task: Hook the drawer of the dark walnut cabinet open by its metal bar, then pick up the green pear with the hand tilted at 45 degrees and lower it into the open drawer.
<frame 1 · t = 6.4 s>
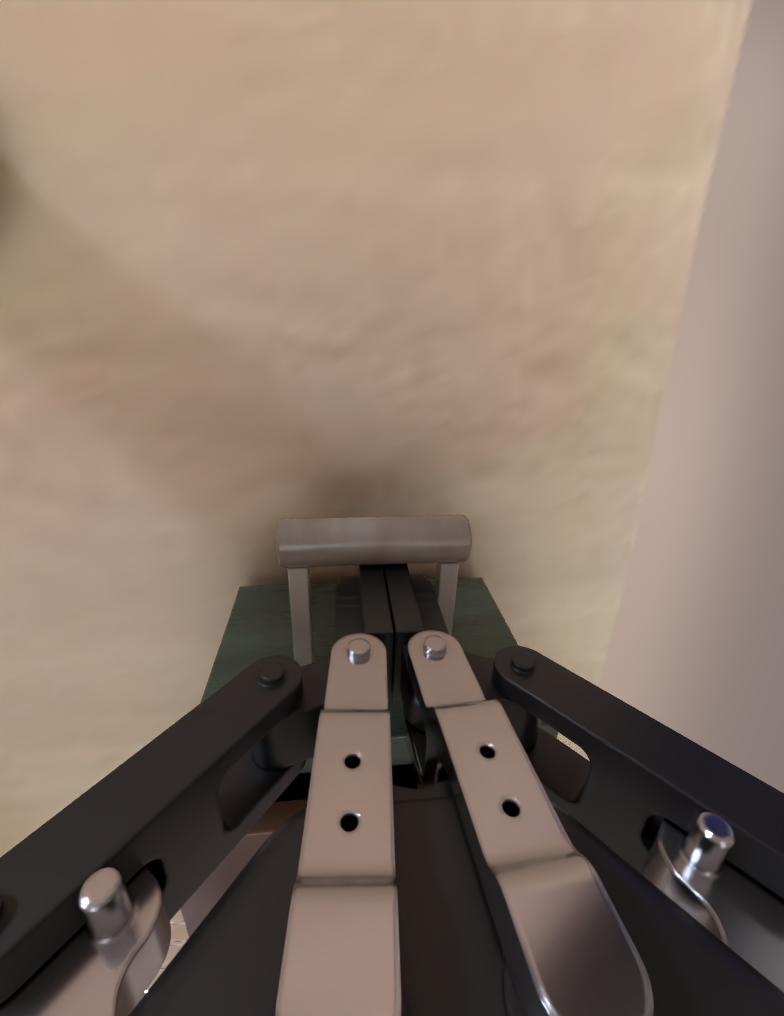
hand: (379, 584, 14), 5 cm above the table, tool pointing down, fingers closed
drawer: (369, 734, 18), point 5 cm above the table, slide at 0.9 cm, touching gripper
cabinet: (362, 728, 25), on the table
water bottle: (200, 890, 29), on the table
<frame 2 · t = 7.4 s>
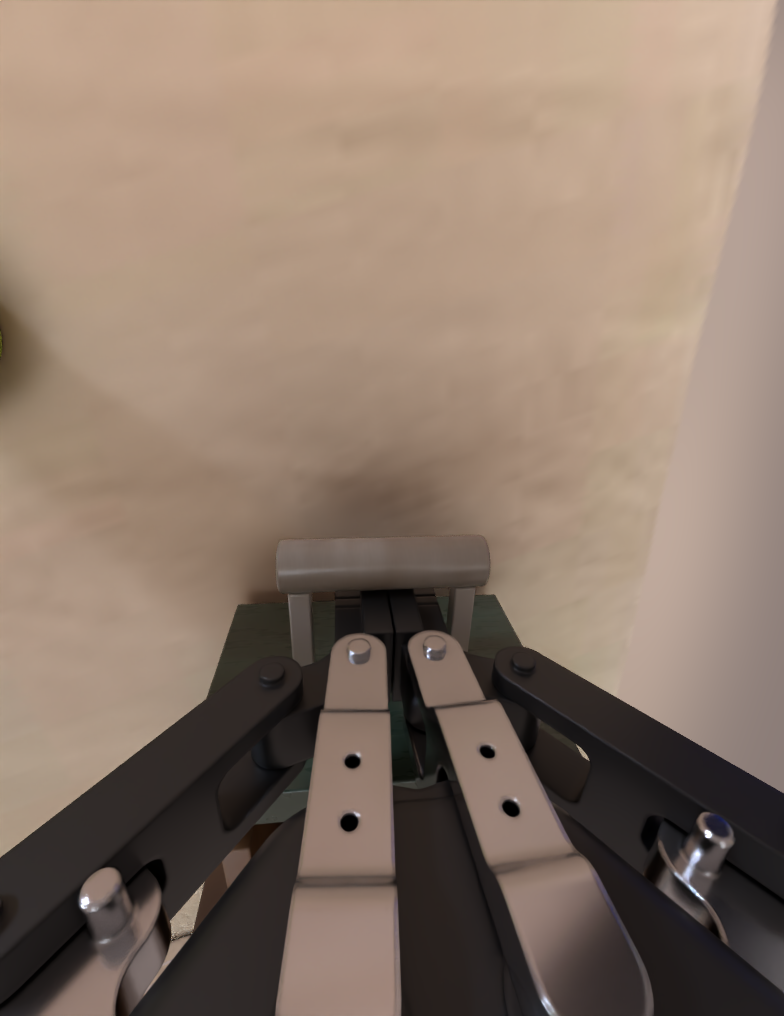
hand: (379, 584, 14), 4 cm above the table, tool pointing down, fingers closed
drawer: (375, 764, 17), point 5 cm above the table, slide at 5.6 cm, touching gripper
cabinet: (366, 807, 25), on the table
water bottle: (208, 952, 30), on the table
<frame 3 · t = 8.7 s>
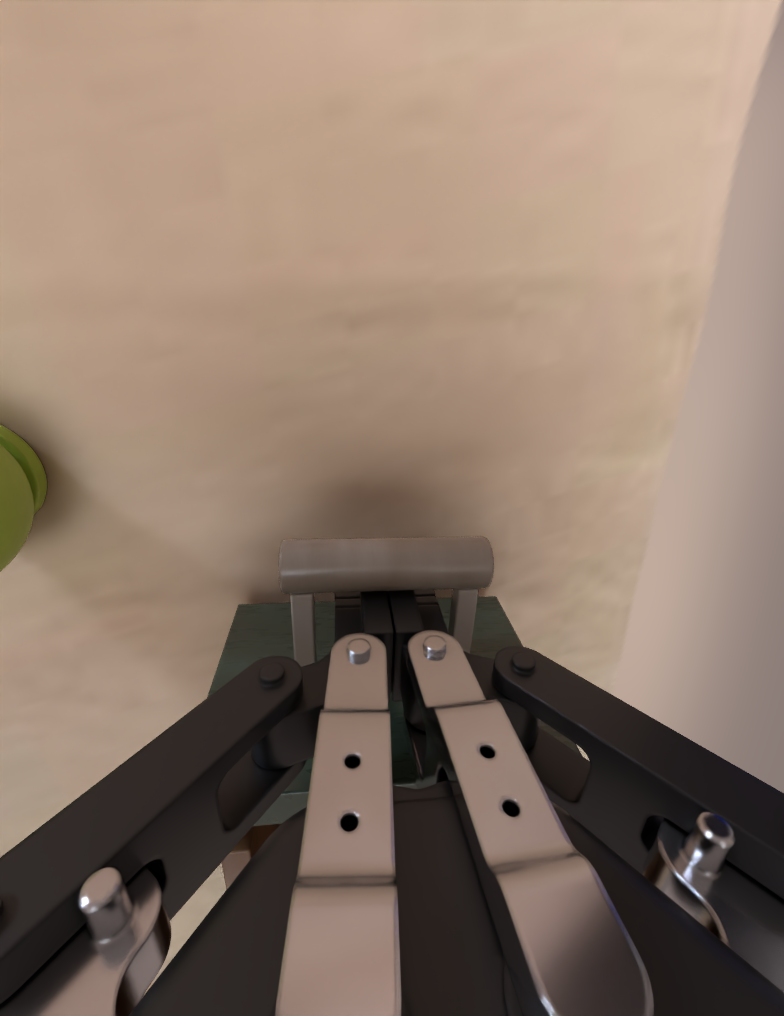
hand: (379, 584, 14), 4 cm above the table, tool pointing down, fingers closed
drawer: (375, 766, 17), point 5 cm above the table, slide at 10.4 cm, touching gripper
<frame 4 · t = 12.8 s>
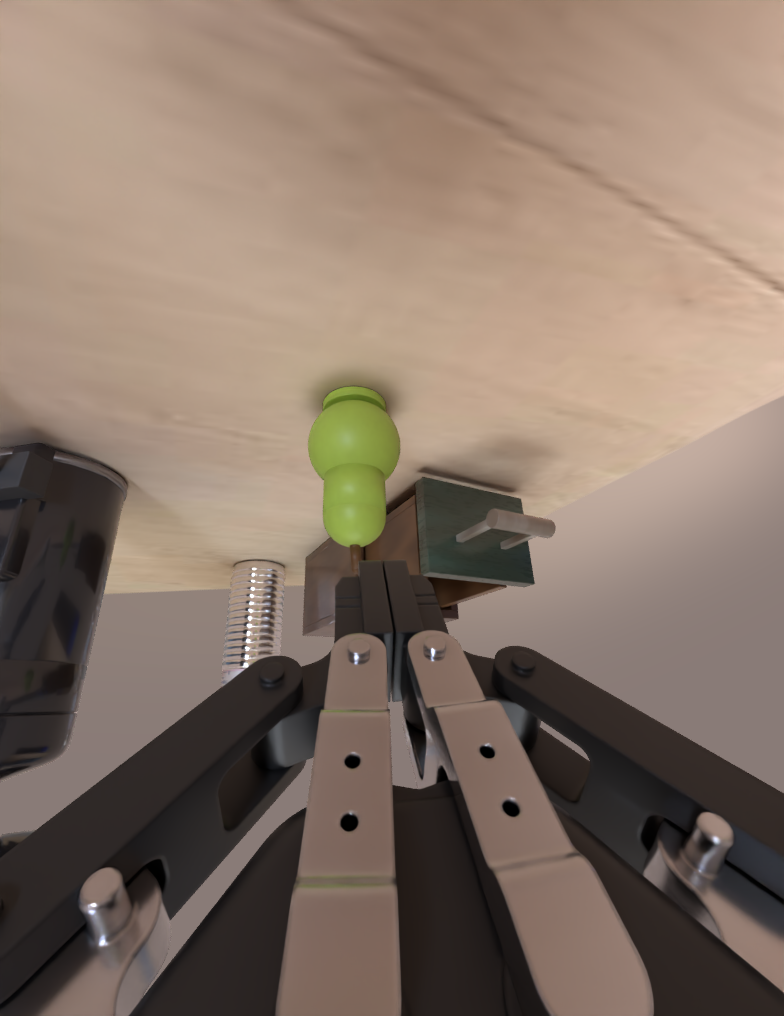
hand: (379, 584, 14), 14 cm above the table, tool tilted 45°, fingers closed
drawer: (447, 548, 41), point 5 cm above the table, slide at 10.5 cm
pear: (354, 406, 29), on the table
cabinet: (373, 545, 55), on the table
water bottle: (259, 564, 61), on the table
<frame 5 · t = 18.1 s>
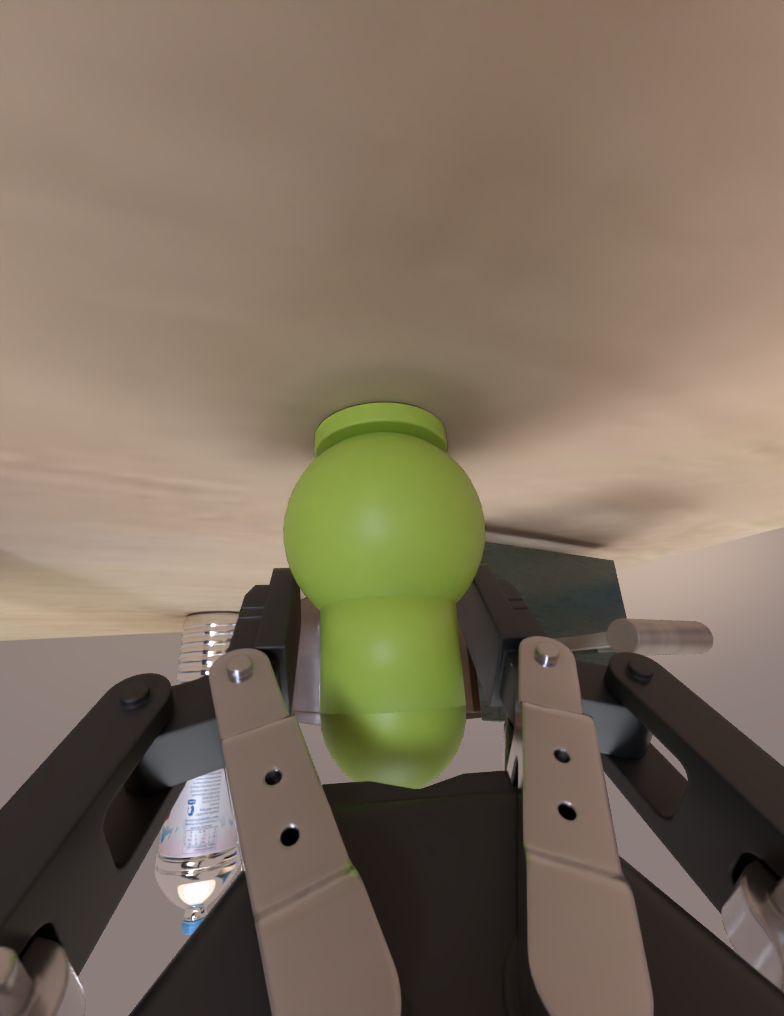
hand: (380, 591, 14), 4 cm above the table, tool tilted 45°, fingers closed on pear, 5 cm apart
drawer: (502, 636, 27), point 5 cm above the table, slide at 10.5 cm
pear: (380, 438, 14), on the table, touching gripper
cabinet: (375, 597, 40), on the table
water bottle: (221, 614, 46), on the table
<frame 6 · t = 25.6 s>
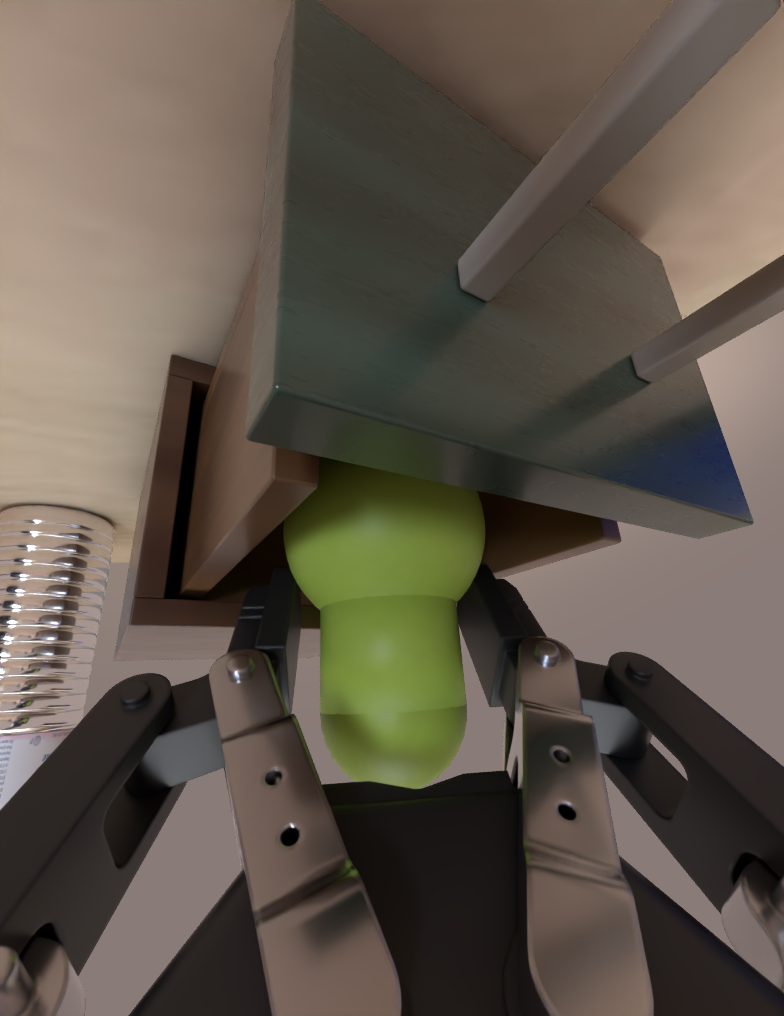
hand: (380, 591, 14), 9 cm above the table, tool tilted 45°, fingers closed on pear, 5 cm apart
drawer: (419, 413, 12), point 5 cm above the table, slide at 10.4 cm
pear: (380, 438, 14), point 5 cm above the table, touching gripper
cabinet: (266, 469, 26), on the table
water bottle: (61, 517, 31), on the table
when the fingers open (10 cm above the table, at t = 33.9 s): pear drops 3 cm, resting on drawer.
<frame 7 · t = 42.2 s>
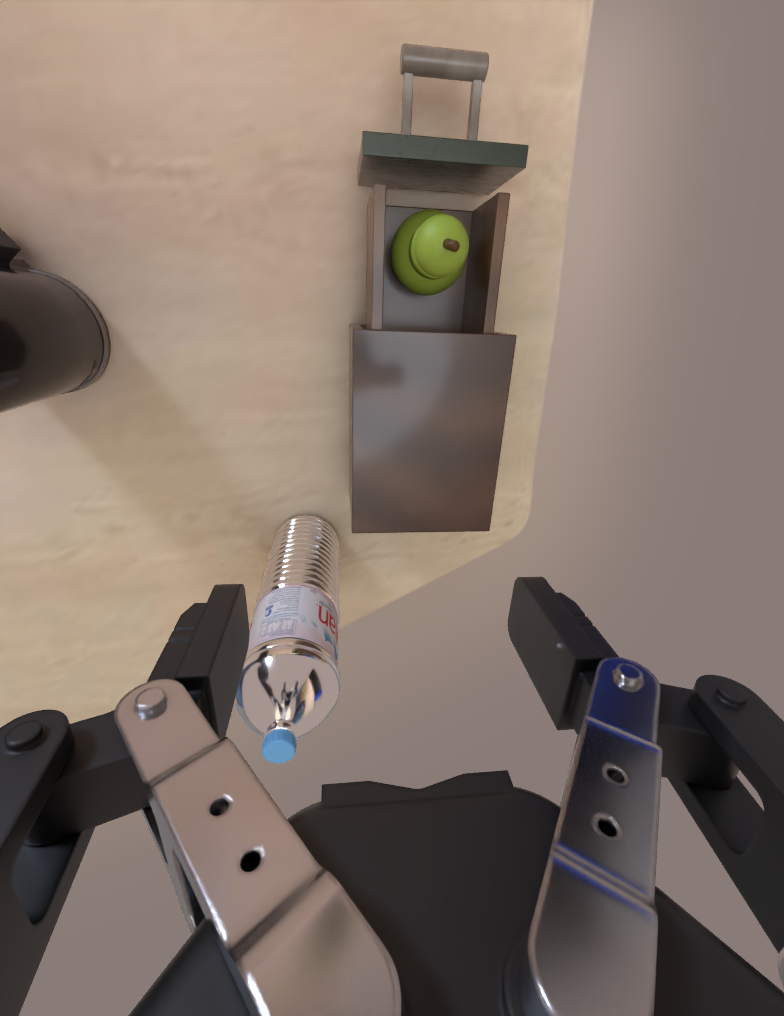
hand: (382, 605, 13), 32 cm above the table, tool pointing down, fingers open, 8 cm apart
drawer: (430, 233, 34), point 5 cm above the table, slide at 10.0 cm, touching pear
pear: (421, 257, 37), point 2 cm above the table, touching drawer
cabinet: (410, 414, 44), on the table
water bottle: (307, 540, 48), on the table
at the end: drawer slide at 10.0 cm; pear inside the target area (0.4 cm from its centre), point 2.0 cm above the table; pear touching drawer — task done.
